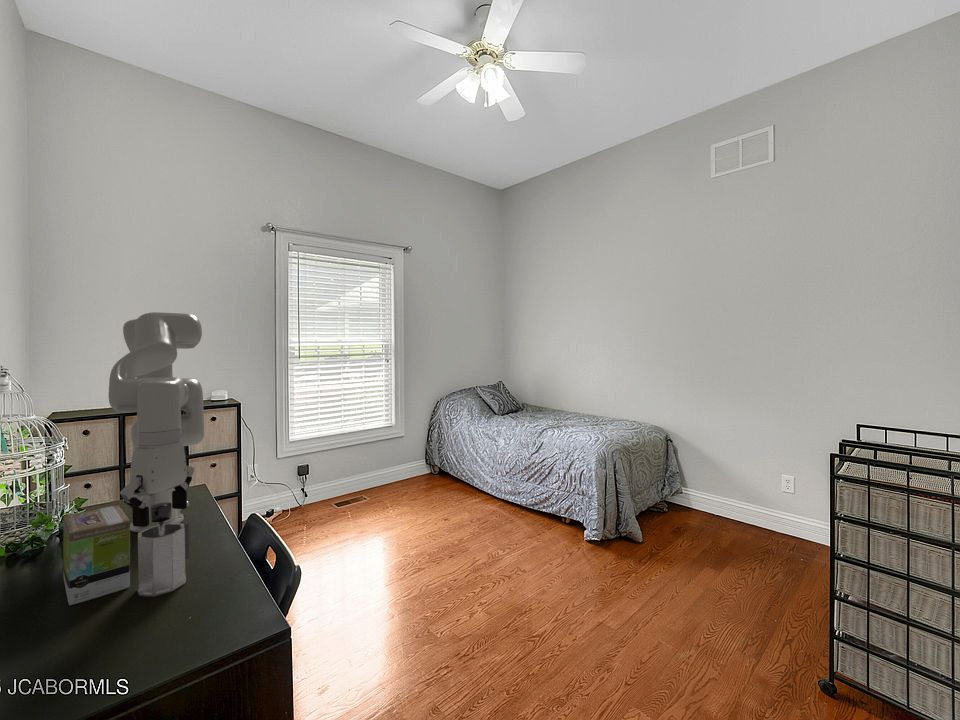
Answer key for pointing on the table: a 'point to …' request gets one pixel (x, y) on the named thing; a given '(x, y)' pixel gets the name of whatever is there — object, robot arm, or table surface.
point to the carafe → (162, 559)
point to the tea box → (96, 553)
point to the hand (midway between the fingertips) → (161, 516)
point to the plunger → (161, 515)
